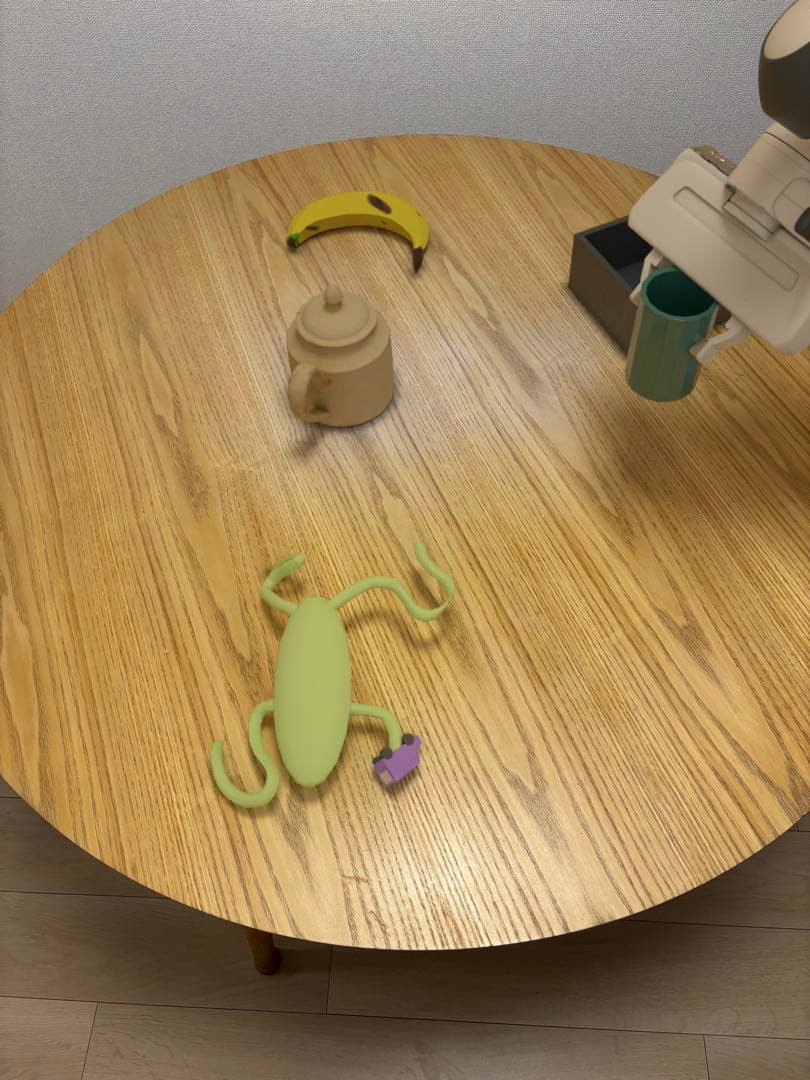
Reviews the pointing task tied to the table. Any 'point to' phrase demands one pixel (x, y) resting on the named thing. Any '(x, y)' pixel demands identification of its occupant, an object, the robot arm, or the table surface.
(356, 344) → the sugar bowl
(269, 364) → the table surface
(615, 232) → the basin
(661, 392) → the cup
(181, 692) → the table surface
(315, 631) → the figurine
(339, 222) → the banana
